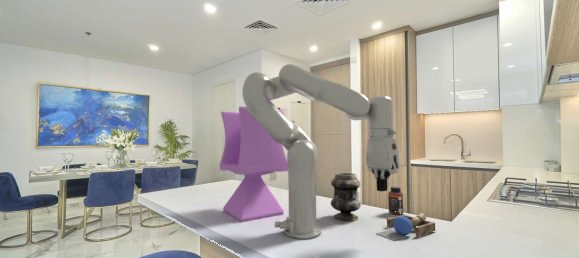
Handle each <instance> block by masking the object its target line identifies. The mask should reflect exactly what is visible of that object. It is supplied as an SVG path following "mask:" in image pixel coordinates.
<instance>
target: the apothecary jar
mask: <svg viewBox="0 0 579 258" xmlns="http://www.w3.org/2000/svg"><path fill="white" fill-rule="evenodd" d="M330 183H331V186H332V187H333V198H332V199H331V201H330V205H331V207H332V208H333V209H334V210H336V211H338V212H337V213H336V214H334V215H333V219H335V220H338V221H343V222H353V221H357V220H358V219H359V217H358V215H355V214H354V213H353V212H355V211H358V210H359V209H360V208H361V206H362V204H361V201H360V200H359V198H358V195H359V194H358V191H359V190H358V189H359V188H360V187H361V182H360V180H359V179H358V177H357V174H355V173H352V172H336V173H335V174H334V178H333V179H331V182H330Z"/></svg>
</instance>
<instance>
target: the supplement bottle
mask: <svg viewBox="0 0 579 258" xmlns="http://www.w3.org/2000/svg"><path fill="white" fill-rule="evenodd" d="M387 195H388V197H387V198H388V213H389V214H391V215H394V214H395V216H396V215H397V216H400V215H401V214H402V215H404V193H403V192H402V191H401V187H400V186H390V191H388V194H387ZM395 211H396V212H395ZM400 213H401V214H400Z"/></svg>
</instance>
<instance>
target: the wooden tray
mask: <svg viewBox="0 0 579 258" xmlns="http://www.w3.org/2000/svg"><path fill="white" fill-rule="evenodd" d="M398 216H404V217H407V218H408V219H409V220H412V219H413V218H415V217H414V216H410V215H406V214H402V215H397V216H396V215H395V216H393V217H388V218H386V227H387V228H388V227H389V228H388V229H391V228H394V227H393V221H394V219H395V218H396V217H398ZM417 226H418V227H414V228H415V237H416V236H418V237H417V238H420V237H419V236H422V235H424V236H426V235H425V234H427V233H430V232H433V231H435V232H436V223H435V222H434V221H430V220H426V219H425V220H424V221H423V222H421V223H420V224H418V225H417ZM390 227H391V228H390ZM433 233H434V232H433ZM430 234H431V233H430ZM427 235H428V234H427ZM422 237H423V236H422Z"/></svg>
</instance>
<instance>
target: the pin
mask: <svg viewBox="0 0 579 258" xmlns="http://www.w3.org/2000/svg"><path fill="white" fill-rule="evenodd" d="M426 219H427V216H426V215H425V214H424V213H423V212H421V213H419V214H417V215H416V216H415V217H414V218H413V219H412V220H410V221H411V222H412V226H413V228H412V229H414V228H415V226H417V225H418V224H420V223H421V222H423V221H424V220H426Z"/></svg>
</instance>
